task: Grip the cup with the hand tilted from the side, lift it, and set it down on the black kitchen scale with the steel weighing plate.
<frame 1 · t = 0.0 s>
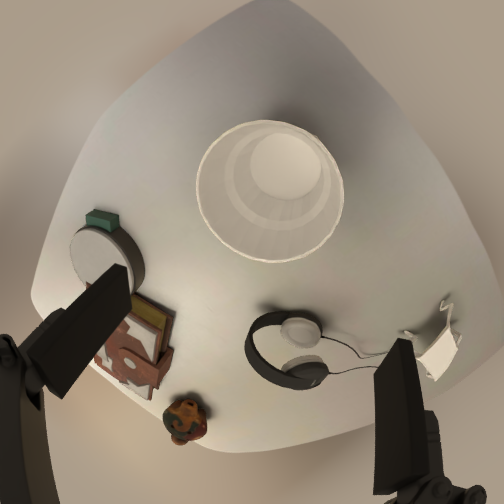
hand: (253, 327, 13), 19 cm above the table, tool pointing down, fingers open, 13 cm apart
book: (133, 336, 47), on the table, touching scale
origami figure: (428, 334, 33), on the table
headphones: (331, 330, 36), on the table
cup: (286, 165, 28), on the table
ocarina: (191, 407, 55), on the table
scale: (110, 257, 39), on the table
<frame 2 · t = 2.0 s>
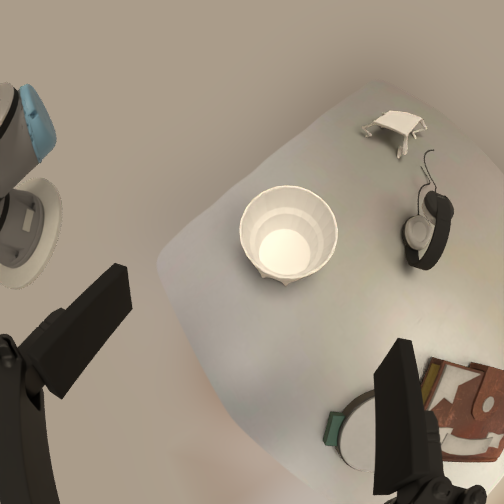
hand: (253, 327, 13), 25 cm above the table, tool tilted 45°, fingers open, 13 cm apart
book: (463, 412, 31), on the table, touching scale
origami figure: (395, 139, 44), on the table
headphones: (414, 213, 40), on the table
cup: (284, 254, 39), on the table
scale: (375, 428, 32), on the table
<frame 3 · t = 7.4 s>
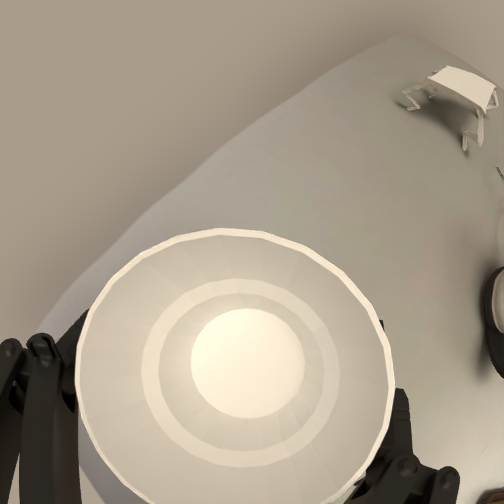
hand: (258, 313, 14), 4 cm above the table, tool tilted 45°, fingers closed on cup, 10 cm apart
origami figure: (454, 119, 21), on the table
headphones: (497, 255, 18), on the table
cup: (248, 363, 17), on the table, touching gripper
when the fingers open (8 cm above the table, at t = 17.5 s): cup stays where it is, resting on scale.
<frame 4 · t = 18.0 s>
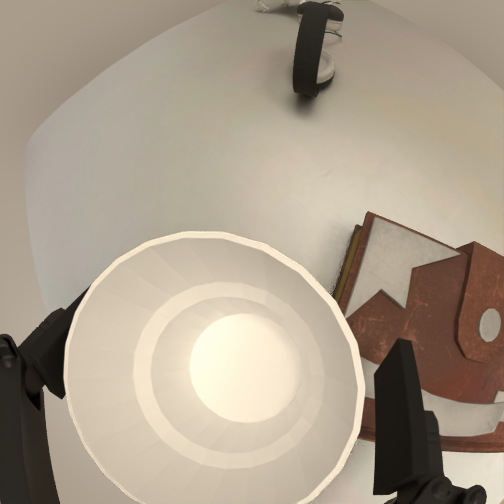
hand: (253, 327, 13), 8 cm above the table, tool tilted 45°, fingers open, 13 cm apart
book: (444, 352, 19), on the table, touching scale
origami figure: (302, 13, 32), on the table
headphones: (317, 61, 28), on the table
cup: (246, 368, 17), point 3 cm above the table, touching scale
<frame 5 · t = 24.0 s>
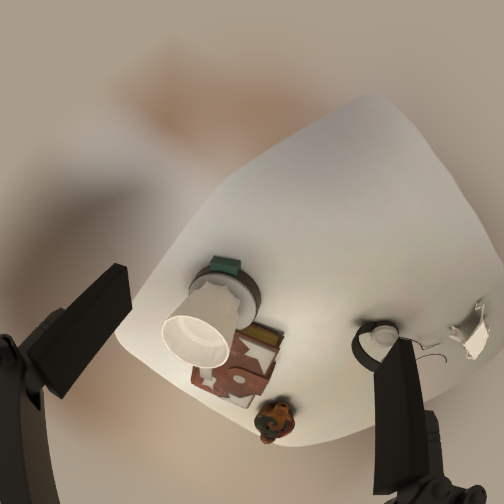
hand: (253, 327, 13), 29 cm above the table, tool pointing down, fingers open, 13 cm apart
book: (236, 355, 58), on the table, touching cup, scale
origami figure: (467, 327, 42), on the table
headphones: (402, 331, 46), on the table
cup: (217, 302, 47), point 3 cm above the table, touching book
ocarina: (277, 409, 65), on the table
scale: (226, 294, 50), on the table
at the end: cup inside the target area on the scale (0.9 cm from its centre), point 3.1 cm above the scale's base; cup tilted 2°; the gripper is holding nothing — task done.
